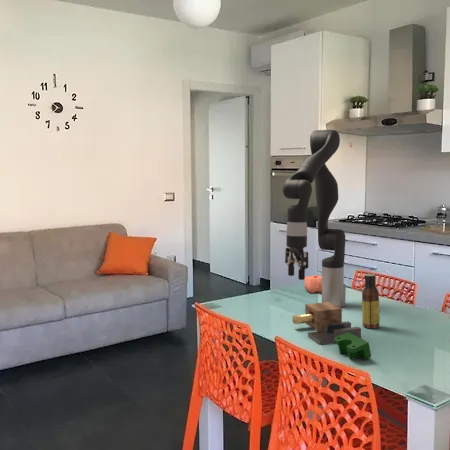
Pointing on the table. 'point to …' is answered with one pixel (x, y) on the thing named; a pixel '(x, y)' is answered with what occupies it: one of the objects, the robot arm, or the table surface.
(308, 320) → the cannon barrel
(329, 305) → the wooden mallet head
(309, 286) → the pink cube teapot
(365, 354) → the clamp
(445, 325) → the table surface
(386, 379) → the table surface
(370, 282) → the sauce bottle
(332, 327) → the rest
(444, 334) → the table surface
